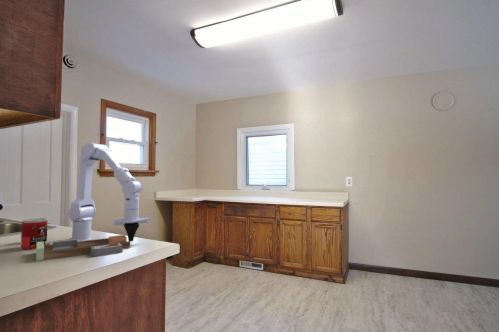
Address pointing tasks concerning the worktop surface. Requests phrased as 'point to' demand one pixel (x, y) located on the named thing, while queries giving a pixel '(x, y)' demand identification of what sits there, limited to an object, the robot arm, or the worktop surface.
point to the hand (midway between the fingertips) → (130, 241)
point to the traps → (94, 251)
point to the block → (116, 240)
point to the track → (78, 248)
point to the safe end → (40, 251)
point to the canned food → (32, 232)
